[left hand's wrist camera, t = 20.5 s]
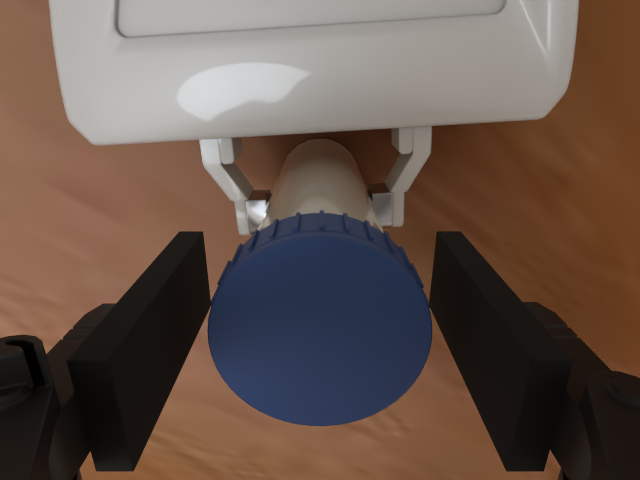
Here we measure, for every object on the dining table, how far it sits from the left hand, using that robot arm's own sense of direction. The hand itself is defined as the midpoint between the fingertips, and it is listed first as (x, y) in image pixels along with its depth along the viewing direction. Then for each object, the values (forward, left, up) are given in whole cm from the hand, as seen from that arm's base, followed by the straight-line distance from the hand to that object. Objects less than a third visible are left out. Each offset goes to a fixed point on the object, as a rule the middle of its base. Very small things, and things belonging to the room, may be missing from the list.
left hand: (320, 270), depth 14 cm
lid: (0, 0, +4) cm, 4 cm away
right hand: (-1, +1, -7) cm, 7 cm away
